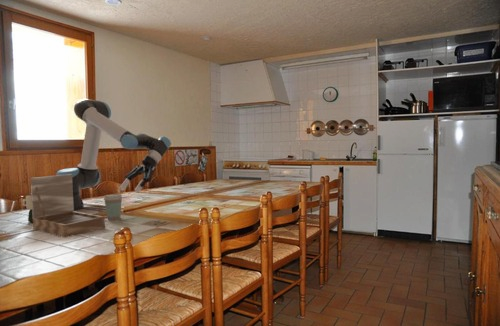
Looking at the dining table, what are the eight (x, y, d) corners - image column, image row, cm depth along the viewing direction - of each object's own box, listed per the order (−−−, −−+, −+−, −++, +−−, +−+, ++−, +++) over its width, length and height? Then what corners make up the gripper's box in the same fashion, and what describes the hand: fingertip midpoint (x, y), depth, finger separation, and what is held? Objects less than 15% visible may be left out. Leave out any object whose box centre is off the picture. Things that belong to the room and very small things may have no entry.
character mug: (50, 219, 169) (49, 193, 169) (44, 222, 162) (43, 196, 162) (27, 220, 168) (25, 194, 167) (20, 224, 161) (18, 197, 160)
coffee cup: (126, 218, 170) (125, 194, 169) (111, 221, 163) (110, 197, 162) (116, 216, 174) (115, 193, 174) (101, 219, 167) (100, 195, 166)
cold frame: (33, 229, 150) (30, 177, 149) (72, 221, 165) (70, 174, 164) (64, 237, 136) (61, 180, 135) (105, 227, 151) (102, 176, 150)
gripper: (133, 155, 191) (110, 184, 180) (162, 155, 176) (138, 187, 165) (142, 163, 195) (119, 192, 184) (170, 165, 181) (147, 196, 170)
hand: (128, 190), depth 175 cm, fingers open, 13 cm apart
